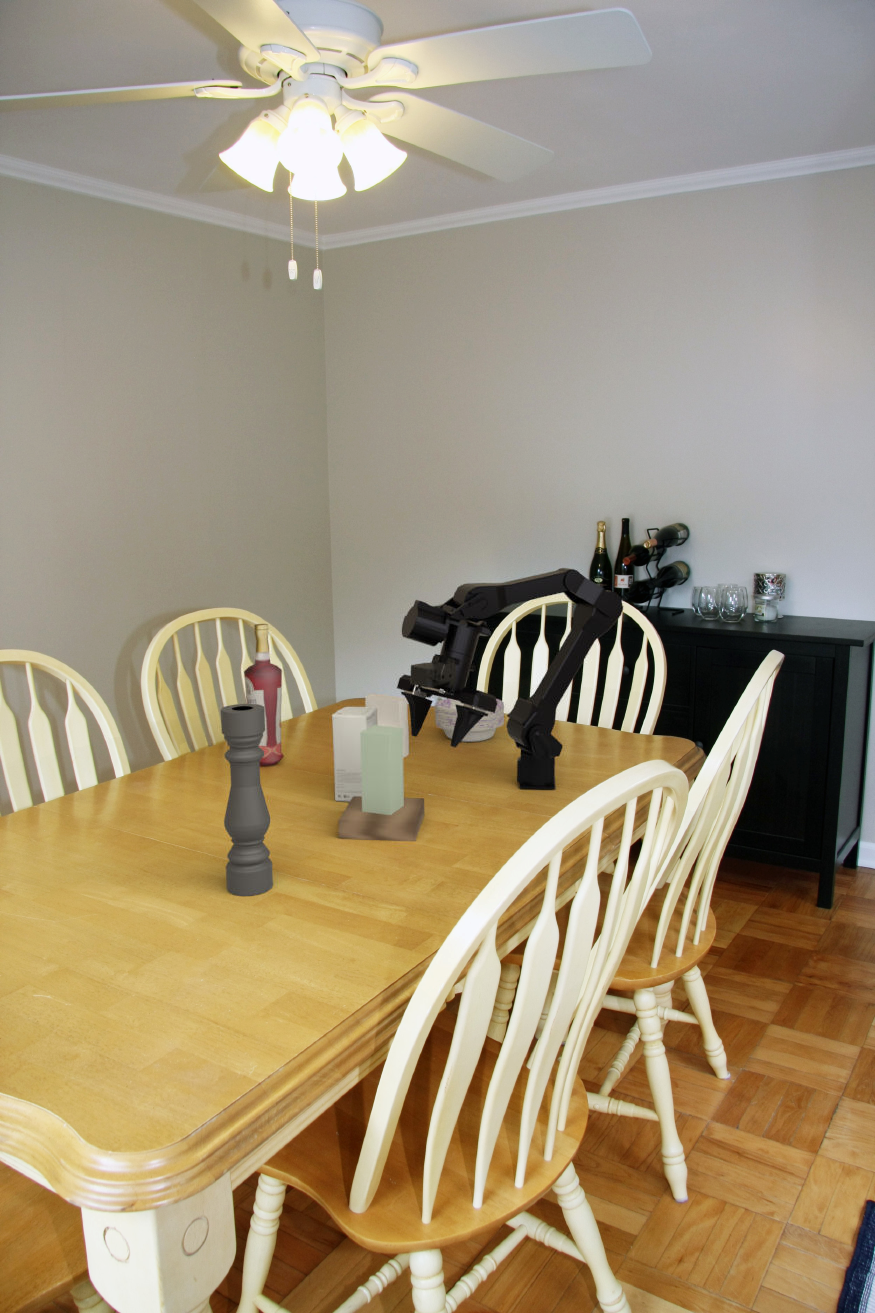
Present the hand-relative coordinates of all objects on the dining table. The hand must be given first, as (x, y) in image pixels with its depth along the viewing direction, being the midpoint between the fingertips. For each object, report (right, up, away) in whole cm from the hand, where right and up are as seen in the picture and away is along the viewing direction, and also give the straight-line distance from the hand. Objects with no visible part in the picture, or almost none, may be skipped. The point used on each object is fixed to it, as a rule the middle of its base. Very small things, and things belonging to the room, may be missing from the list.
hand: (433, 741), depth 164 cm
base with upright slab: (-10, -6, +33) cm, 35 cm away
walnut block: (-8, -13, -10) cm, 18 cm away
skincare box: (-14, -10, +6) cm, 18 cm away
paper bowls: (+8, -3, +46) cm, 47 cm away
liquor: (-33, -7, +27) cm, 44 cm away
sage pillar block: (-8, -10, -11) cm, 16 cm away
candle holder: (-25, -17, -33) cm, 45 cm away
